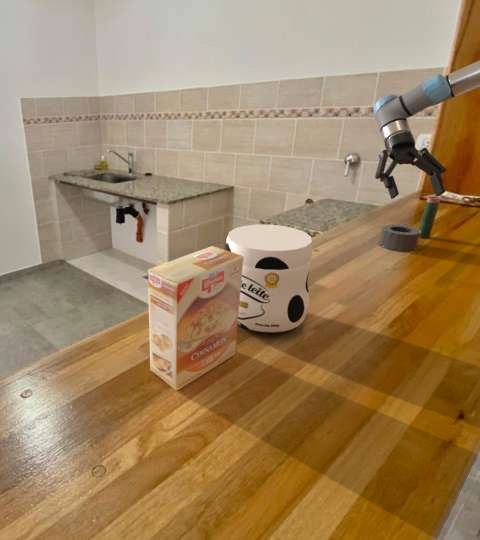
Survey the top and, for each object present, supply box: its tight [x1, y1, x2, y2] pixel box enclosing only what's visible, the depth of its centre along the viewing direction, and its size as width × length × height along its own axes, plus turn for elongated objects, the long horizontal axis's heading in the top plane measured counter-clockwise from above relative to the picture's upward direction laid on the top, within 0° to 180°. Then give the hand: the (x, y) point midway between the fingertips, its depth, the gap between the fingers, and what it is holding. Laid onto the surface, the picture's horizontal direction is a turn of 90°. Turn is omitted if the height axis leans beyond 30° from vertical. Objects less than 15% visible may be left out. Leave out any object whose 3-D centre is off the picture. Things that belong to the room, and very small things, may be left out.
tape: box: [378, 224, 421, 252], centre depth 109 cm, size 9×9×5 cm
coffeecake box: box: [147, 245, 244, 392], centre depth 64 cm, size 15×7×20 cm, turn 126°
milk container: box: [224, 224, 313, 335], centre depth 76 cm, size 17×17×18 cm
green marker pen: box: [418, 196, 441, 239], centre depth 113 cm, size 3×3×12 cm
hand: (417, 195), depth 116 cm, fingers open, 13 cm apart
